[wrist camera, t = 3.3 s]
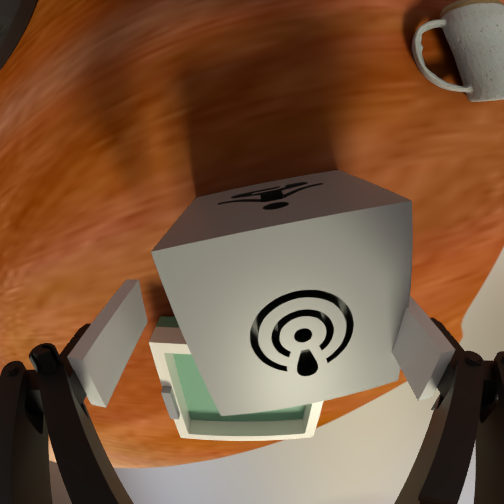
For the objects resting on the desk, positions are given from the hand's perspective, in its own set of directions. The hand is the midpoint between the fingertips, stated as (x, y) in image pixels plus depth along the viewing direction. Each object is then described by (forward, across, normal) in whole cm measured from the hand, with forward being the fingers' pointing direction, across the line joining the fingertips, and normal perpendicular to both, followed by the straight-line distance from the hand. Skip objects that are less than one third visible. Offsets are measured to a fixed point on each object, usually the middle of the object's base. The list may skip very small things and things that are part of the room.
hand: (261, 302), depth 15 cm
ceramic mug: (+7, +17, +17) cm, 25 cm away
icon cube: (+7, +2, 0) cm, 7 cm away
